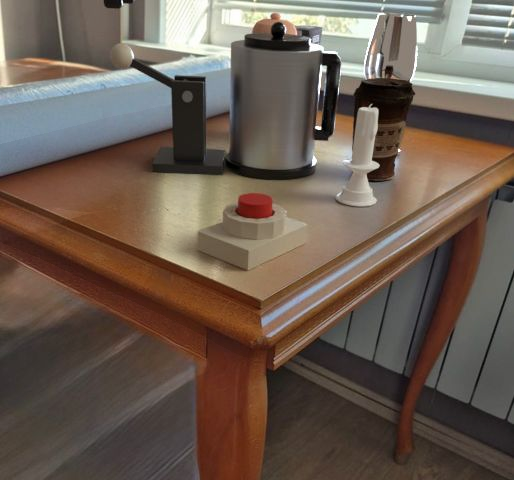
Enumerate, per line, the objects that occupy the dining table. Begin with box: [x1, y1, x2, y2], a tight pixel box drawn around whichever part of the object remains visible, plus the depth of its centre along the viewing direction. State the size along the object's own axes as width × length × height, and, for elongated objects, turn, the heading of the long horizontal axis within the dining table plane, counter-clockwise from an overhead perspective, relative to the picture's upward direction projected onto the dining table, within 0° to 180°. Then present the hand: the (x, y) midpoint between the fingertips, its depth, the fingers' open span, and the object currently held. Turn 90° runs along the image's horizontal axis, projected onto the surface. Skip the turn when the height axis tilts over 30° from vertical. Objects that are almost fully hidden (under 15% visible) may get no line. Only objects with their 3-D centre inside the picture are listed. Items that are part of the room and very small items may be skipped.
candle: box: [335, 104, 380, 208], centre depth 77 cm, size 5×5×12 cm
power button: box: [237, 192, 274, 219], centre depth 63 cm, size 4×4×2 cm
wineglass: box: [363, 12, 418, 155], centre depth 96 cm, size 8×8×20 cm
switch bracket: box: [151, 74, 226, 176], centre depth 87 cm, size 10×9×12 cm
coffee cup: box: [350, 78, 416, 181], centre depth 86 cm, size 9×8×13 cm
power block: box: [197, 201, 309, 272], centre depth 65 cm, size 10×7×4 cm
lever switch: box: [109, 42, 188, 89], centre depth 84 cm, size 13×3×3 cm, turn 90°
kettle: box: [225, 22, 342, 181], centre depth 86 cm, size 16×14×19 cm
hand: (120, 5), depth 79 cm, fingers open, 8 cm apart
